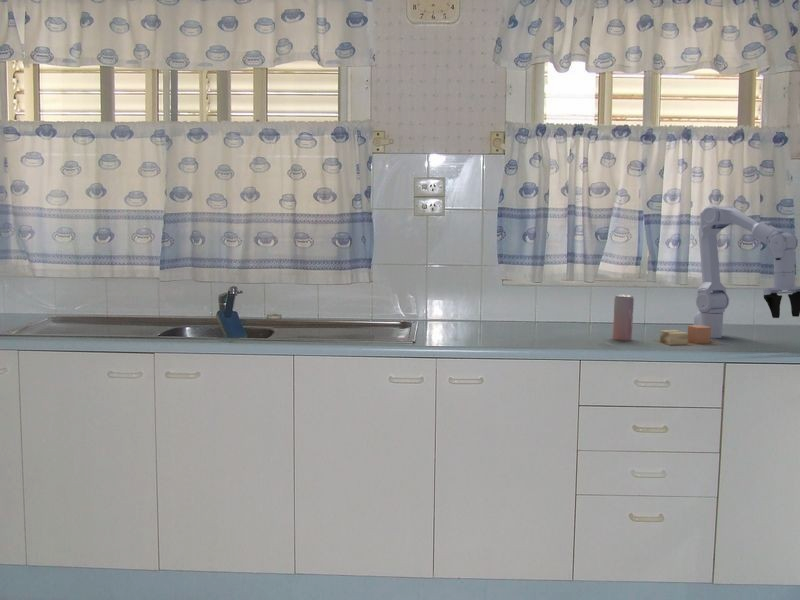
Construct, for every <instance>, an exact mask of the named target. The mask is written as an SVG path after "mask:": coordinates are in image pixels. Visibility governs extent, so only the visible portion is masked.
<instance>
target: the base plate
mask: <svg viewBox="0 0 800 600" xmlns="http://www.w3.org/2000/svg"><path fill="white" fill-rule="evenodd" d="M654 342H657V343H660V344H664V345H666V346H669V347H676V346H677V347H679V346H680V347H682V346H686V347H687V346H708V345H709V346H711V345H712V346H713V345H714V346H715V345H720V343H719V342H715V341H713V340H712V341H711V340H710V343H697V344H696V343H693V342H689V341H687V344H674V345H670V344H667V343H664V342H660V339H657V340H656V339H655V340H654Z"/></svg>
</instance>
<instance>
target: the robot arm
mask: <svg viewBox="0 0 800 600" xmlns="http://www.w3.org/2000/svg"><path fill="white" fill-rule="evenodd" d="M699 216H700V217H699V218H700V224H699V228H698V239H699V242H698V243H699V253H700V255H699V256H700V263H701V265H700V266H701V277H702V284H701V285H700V286H699V288H697V295H696V299H695V305H696V307H697V308H698V311H697V312H696V313H695V314H694V317H693V325H703V326H707V327H711V339H720V338H722V337H723V327H724V326H723V324H724V313H725V311H726V310H725V309H728V307H729V305H730V298H729V296H728V294H727V290H726V289H727V288H726V287H725V286H724V285H723V284H722V282H721V275H720V274H721V272H720V261H719V250H718V239H717V238H718V237H717V236H718V234H719V233H721V231H722V230H724V229H725V228H727V227H729V226H731V224H734V225H736V226H739V227H741V228H743V229H746V230H747V231H749V232H751V234H752V237H753V238H754V239H756V240H758V241H759V242H761V243H762V244H765V245H766V246H768V248H769V250H770V251H771V253H772V257H773V280H774V281H773V282H774V283H773V285H774V286H773V287H764V288H763V300H765V302H766V303H767V305H768V306H767V307H768V308H769V310H770V313H771V317H772V318H773V319H780V315H781V302H782V299H783V298H782V297H783V295H782V294H787V297H788V299H789V302H790V309H791V311H790V312H791V315H792V318H795V317H797V318H799V317H800V285H798V286H796V272H795V271H796V268H795V250H796V249H797V247H798V244H799V243H798V241H799V240H798V239H797V236H796V235H794V234H793V232H784V229H782V228H777V227H775V226H774V225H771V224H772V222H770V221H759V222H758V221H756V220H754V218H751V217H749V216H748V215H746V214H745V213H744V212H742V211H740V210H739V209H738V208H735V207H733V206H731V205H708V206H705V208H704V209H703V210H701V212H700V214H699ZM779 294H780V295H779Z"/></svg>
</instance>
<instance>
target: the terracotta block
mask: <svg viewBox="0 0 800 600" xmlns="http://www.w3.org/2000/svg"><path fill="white" fill-rule="evenodd" d="M687 333H688V341H689V342H693V343H696V344H697V343H710V341H711V339H712V338H711V327H707V326H703V325H694V324H693V325H691V324H689V325H687Z"/></svg>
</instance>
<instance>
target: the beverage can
mask: <svg viewBox="0 0 800 600" xmlns="http://www.w3.org/2000/svg"><path fill="white" fill-rule="evenodd" d="M634 299H635V298H634V295H632V294H615V296H614V300H613V301H614V303H613V304H614V305H613V307H614V308H613V323H612V324H613V326H612V327H613V329H612V339H613V340H614V341H622V342H623V341H625V342H627V341H628V342H629V341H630V342H631V341H632V340H633V320H634V318H633V317H634V303H635V300H634Z"/></svg>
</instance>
